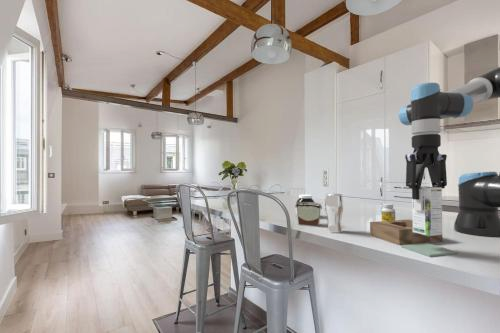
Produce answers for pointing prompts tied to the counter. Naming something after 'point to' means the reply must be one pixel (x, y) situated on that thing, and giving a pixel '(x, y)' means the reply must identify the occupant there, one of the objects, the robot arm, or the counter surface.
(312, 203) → the food container
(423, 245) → the sage rubber mat
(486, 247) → the counter surface
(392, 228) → the walnut block
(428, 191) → the syrup box
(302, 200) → the spread jar
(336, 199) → the beer glass
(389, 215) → the supplement bottle
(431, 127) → the robot arm
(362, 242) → the counter surface
